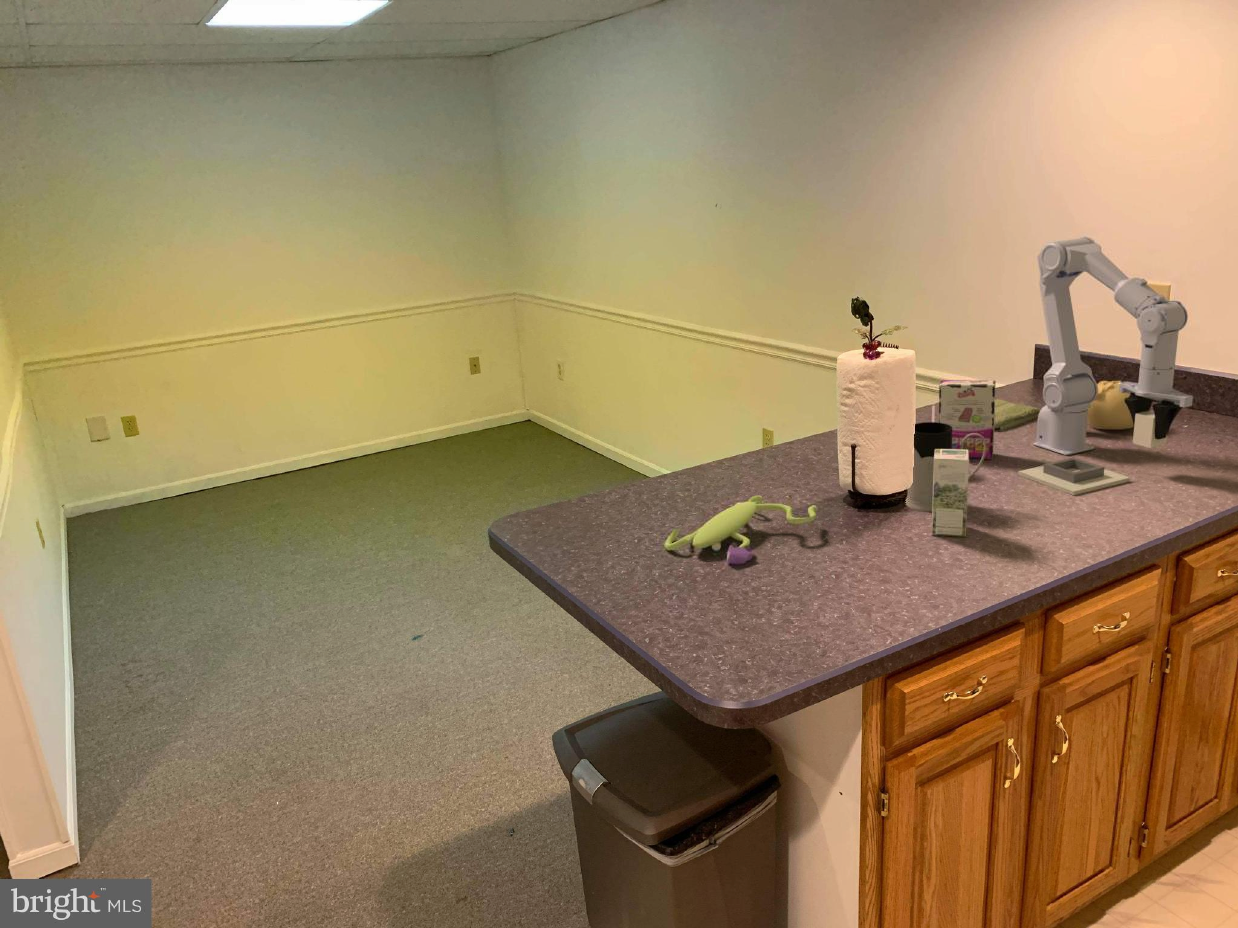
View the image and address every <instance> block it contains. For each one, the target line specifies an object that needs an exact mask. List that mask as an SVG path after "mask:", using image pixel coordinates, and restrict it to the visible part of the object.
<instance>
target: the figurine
mask: <svg viewBox="0 0 1238 928" xmlns="http://www.w3.org/2000/svg"><path fill="white" fill-rule="evenodd" d="M762 501H763V496H761V495H754V496H752V497H750V498H749V499H748V500H747V501H745V502H741V501H740V502H736V503H735V504H734V505H732V506H731V507H728V508H726V509H724V510H723V511H720V512H719V513H718V514H716V515H715V516H712V518H711V519H709V520H708V521H707V522H705V523H704V525H702V526H701V527H699V528H697V530H695V531H694V532H692V533H691V534H687V535H685V536H683V537H682V538H680V539H678V540H677V541H675V539H676V538H677V536H678V535H679V534H680V531H679V529H677V528H675V529H673V530H672V531H671V533H670V534H669V535H668V537H667V539H666V540H665V542H664V549H666V551H673V550H678V549H679V548H681V547H682V546H684V545H686V544H687V543H689V542H691V540H692V546H693V547H695V548H699V549H700V548H703V549H706V548H707V547H710V546H711V549H712V550H713V551H715V552H719V551H720V549H721V547H722V546H721V544H722V541H724V540H726V539H727V538H729V537H731V538H733V539H735V540H737V541H740V542H742V544H740V545H739V546H738V544H737V543H736V541H735V542H731V544H730V545H729V546H728V549H727V551H726V552H725V554H726V563H727V564H733V565H743V564H744V565H745V564H746V562H749V561H751V560H752V558H753V556H754V553H755V550H753V549H752V547H751V546H750V544H751V540H750V539H749V538H748V537H746V536H744V535H742V534H740V533H739V532H738V531H739V530H740V529H741V528H743V527H744V526H745V525H746V524H747V523H748V522H749V521H750V520H751V519H752V517H753V516H754V514H755V513H756V511H769V510H771V511H781V512H785V513H786V516H785V518H786V521H787V522H788V523H789V524H792V525H793V524H794V525H795V524H796V525H798V524H804V523H809V522H812V521H814V520H815V518H817V511H818V506H817V505H811V506H809V507H808V508H807V514H808V515H809V516H807V517H794V516H793V508H792V507H791V506H790V505H786V504H782V503H762ZM672 542H673V543H672Z"/></svg>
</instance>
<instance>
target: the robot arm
mask: <svg viewBox="0 0 1238 928" xmlns="http://www.w3.org/2000/svg"><path fill="white" fill-rule="evenodd" d="M1037 262H1038V270H1039V282H1038V283H1039V292H1040V296H1041V303H1042V308H1043V309H1042V310H1043V315H1044V316H1043V317H1044V322H1045V328H1046V334H1047V340H1048V346H1049V353H1050V358H1051V359H1050V360H1051V364H1052V366H1050V368H1049V369H1048V371H1046V373H1045V374H1044V376H1043V388H1042V398H1043V401H1044V404H1045V405H1044V406H1043V407H1042V408H1041V409H1040V413H1039V415H1038V417H1037V424H1036V425H1037V427H1036V440H1035V442H1034V441H1033V446H1036V447H1040V448H1042V449H1045V450H1049V451H1052V452H1055V453H1059V454H1061V455H1064V456H1069V455H1073V454H1078V453H1083V452H1087V451H1090V450H1095V446H1094V445H1090V444H1087V443H1086V440H1087V439H1086V436H1087V426H1088V421H1087V414H1088V408H1090V407H1091V402H1093V401H1094V400H1095V399H1096V397H1097V395H1098V386H1097V384H1098V383H1097V381H1096V379H1095V377H1094V376H1093V375H1094V374H1093V371H1092V368H1091V367H1090V366H1089V365H1088V364H1086V363H1084V362H1083V361H1082V359H1081V354H1080V347H1079V340H1078V336H1077V335H1078V334H1077V328H1076V322H1075V316H1074V311H1073V310H1074V309H1073V302H1072V296H1071V292H1070V286H1071V285H1072V284H1073V282H1074V281H1075V280H1076V278H1078V277H1079V276H1080V275H1082V274H1083V273H1084V272H1085V273H1087V274H1089V275H1090V276H1092V277H1093V278H1094V279H1096V281H1098V282H1100V283H1101V284H1103V285H1104V286H1106V288H1108V289H1110V290H1111V291H1112V292H1114V294H1113V295H1114V296H1113V297H1114V299H1113V300H1114V301H1115V302H1116V303H1117V304H1118V305H1119V306H1120V307H1121V308H1123V310H1125V311H1126V312H1127V313H1128V314H1130V315H1131V316H1132V317H1133V318H1134V319H1136V326H1137V328H1138V330H1139V333H1140V341H1141V344H1142V346H1141V354H1140V355H1141V356H1140V363H1139V364H1140V366H1139V371H1138V372H1139V373H1138V374H1139V375H1138V382H1132V381H1123V382H1122V381H1121V382H1122V383H1119V391H1118V392H1120V393H1129V394H1130V396H1129V397H1128V398H1125V401H1124V402H1125V403H1126V405H1127V407H1128V409H1129V411H1130V414H1131V417H1132V421H1133V425H1135V415H1136V413H1141V412H1145V411H1150V410H1151V407H1152V409H1153V410H1152V411H1154V414H1155V439H1163V438H1166V435H1167V436H1168V433H1169V431H1170V427H1171V426H1172V424H1173V422H1174V420H1175V418H1176V417H1177V415H1178V414H1179V413H1180V411H1181V410H1182V409H1183V408H1189V407H1192V406H1193V398H1194V395H1191V394H1187V393H1185V392H1181V391H1179V390H1177V389H1174V388H1173V385H1174V377H1175V376H1174V375H1175V368H1176V367H1175V366H1176V358H1177V350H1178V339H1179V331H1181V330H1183V329H1184V328H1185V326H1187V324H1188V323H1187V322H1188V316H1189V315H1188V314H1189V313H1188V311H1187V309H1186V307H1185V306H1184V304H1182V302H1181V301H1179V300H1175V299H1173V300H1169V299H1167V298H1166V297H1165V296H1164V295H1163V294H1160V293H1158V292H1157V291H1156V290H1154V289H1153V288H1152V287H1150V285H1148V281H1147V280H1146V279H1145V278H1139V277H1133V278H1130V277H1128V276H1127V274H1125V273H1124V272H1123V271H1122V270H1121V269H1120V268H1119V267H1118V266H1117V265H1115V263H1114V262H1112V260H1110V258H1109V257H1108V256H1106V255H1105V253H1104V252H1102V246H1101V245H1100V244H1099V243H1097V242H1096V241H1095V240H1094V239H1092V238H1091V237H1088V236H1082V237H1080V238H1073V239H1065V240H1058V241H1056V240H1051V241H1049V242H1047V243H1046V244H1045V245H1044V246H1043V247H1042V248H1041V250H1040V252H1039V254H1038V255H1037ZM1070 375H1071V376H1072V377H1070V378H1065V377H1066V376H1070ZM1064 378H1065V379H1064ZM1154 400H1156V401H1159V402H1158V403H1153V401H1154Z"/></svg>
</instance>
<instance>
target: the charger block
mask: <svg viewBox="0 0 1238 928" xmlns="http://www.w3.org/2000/svg"><path fill="white" fill-rule="evenodd" d="M1167 437H1168V434H1167V435H1166V438H1163V439H1155V414H1154V410H1151V409H1150V411H1145V412H1141V413H1136V415H1135V425H1134V426H1133V437H1132V444H1135V445H1138V446H1142V447H1145V448H1149V449H1154V448H1157V447H1161V446H1166V445H1167Z"/></svg>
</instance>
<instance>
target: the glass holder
mask: <svg viewBox="0 0 1238 928" xmlns="http://www.w3.org/2000/svg"><path fill="white" fill-rule="evenodd" d="M914 424H915V434H914V467H913V483H912V485H911V487H910V489H909V490H908V489H907V496H906V499H905V501H906V502H905V501H904V504H905V503H906V504H905V506H907V507H908V508H910V509H912V510H914V511H915V510H916V511H918V512H919V511H920V512H930V513H932V506H933V474H934V453H935V449H952V426H950V425H948V424H944V423H939V422H936V421H934V422H932V421H929V422H928V421H925V422H918V423H917V422H916V423H914ZM973 435H975V436H979V437H981V438H982V439H983V441H984V452H983V456H982V459H980V461H979V463H978V464H977V466H976V467H975V469H974V470H973V471H971V473H969V477H968V480H969V479H970V478H971V477H972V476H974V475H975V474H976V473H977V472H978V471H979V469H980V468H981V466H982V464H983V463H984V460H985V459H984V458H985V455H986V447H987V446H986V440H985V439H984V437H983V436H981V435H980V434H977V433H971V434H968V435H967V436H965V437H964V438H963V440H962V442H961V450H963V445H964V442H965V440H966V439H967V438H968V437H970V436H973Z"/></svg>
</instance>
